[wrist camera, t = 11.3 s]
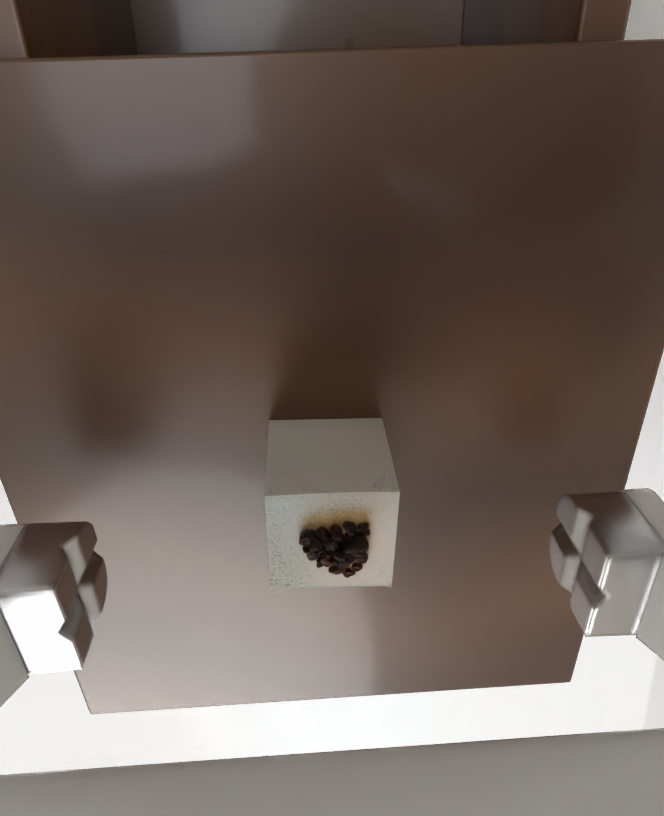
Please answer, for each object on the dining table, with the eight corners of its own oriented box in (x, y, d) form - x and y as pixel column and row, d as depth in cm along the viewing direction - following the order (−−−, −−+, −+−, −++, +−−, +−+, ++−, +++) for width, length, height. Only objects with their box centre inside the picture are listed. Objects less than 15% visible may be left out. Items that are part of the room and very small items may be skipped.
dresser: (79, 56, 17) (-161, 63, 8) (516, 43, 18) (752, 36, 9) (164, 469, 25) (90, 715, 16) (470, 453, 25) (571, 683, 16)
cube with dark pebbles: (382, 416, 11) (404, 502, 9) (376, 503, 13) (395, 598, 10) (267, 419, 11) (262, 506, 9) (272, 507, 12) (269, 603, 10)
